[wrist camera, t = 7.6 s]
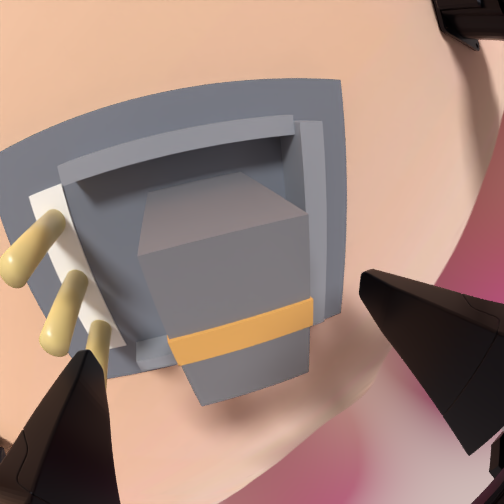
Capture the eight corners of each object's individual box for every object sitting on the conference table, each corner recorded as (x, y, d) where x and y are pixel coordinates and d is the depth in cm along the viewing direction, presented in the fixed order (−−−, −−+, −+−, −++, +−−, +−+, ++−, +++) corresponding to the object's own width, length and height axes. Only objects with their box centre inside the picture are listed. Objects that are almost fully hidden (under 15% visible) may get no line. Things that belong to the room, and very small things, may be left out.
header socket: (329, 81, 12) (409, 73, 7) (333, 304, 18) (380, 357, 14) (-5, 157, 8) (-74, 183, 3) (90, 370, 15) (85, 441, 10)
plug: (241, 171, 12) (312, 215, 6) (257, 287, 14) (310, 373, 9) (146, 192, 11) (135, 258, 6) (180, 308, 14) (200, 408, 8)
